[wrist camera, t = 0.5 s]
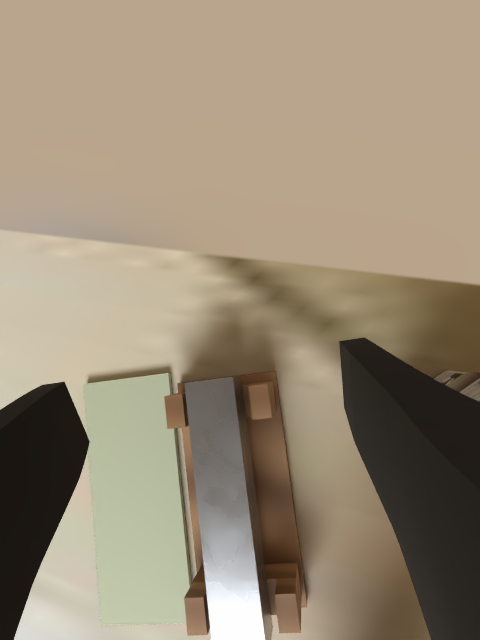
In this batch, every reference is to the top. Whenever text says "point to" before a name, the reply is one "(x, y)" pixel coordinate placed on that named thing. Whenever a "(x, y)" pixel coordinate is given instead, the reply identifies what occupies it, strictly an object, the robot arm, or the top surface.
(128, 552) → the mat
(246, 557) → the rail
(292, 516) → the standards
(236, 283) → the top surface
